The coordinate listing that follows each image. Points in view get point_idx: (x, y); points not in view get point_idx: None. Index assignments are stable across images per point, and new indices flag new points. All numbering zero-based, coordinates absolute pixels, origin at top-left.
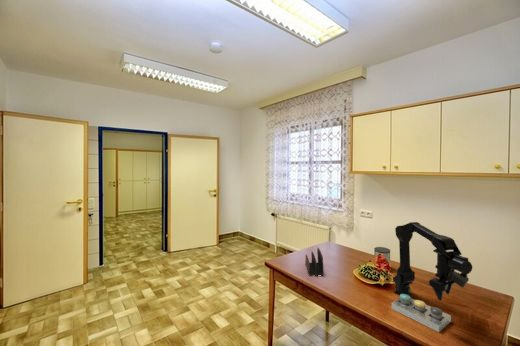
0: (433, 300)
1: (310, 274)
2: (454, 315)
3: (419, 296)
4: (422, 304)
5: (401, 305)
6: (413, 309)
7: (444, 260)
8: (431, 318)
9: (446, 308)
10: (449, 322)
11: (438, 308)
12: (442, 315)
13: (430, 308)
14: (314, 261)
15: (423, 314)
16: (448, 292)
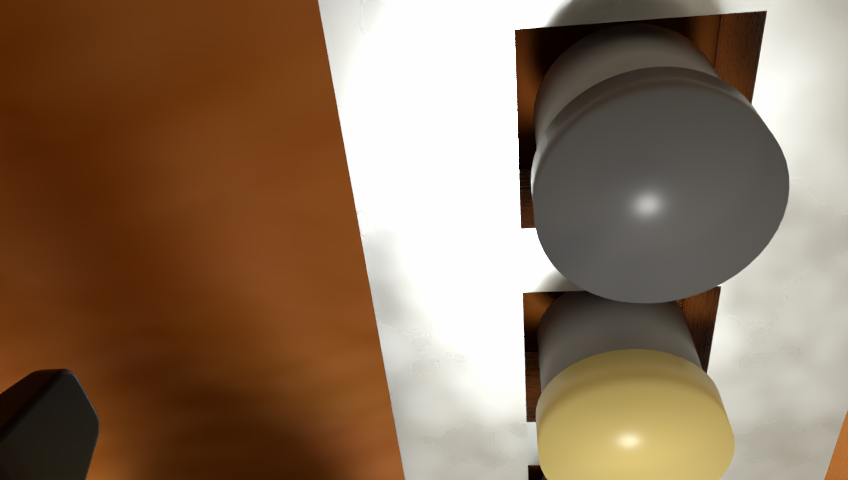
0: (28, 350)
1: None
2: (75, 19)
3: (135, 461)
4: (668, 412)
5: None
6: (723, 396)
7: None
8: (794, 143)
9: (20, 178)
10: None
11: (552, 207)
12: (481, 85)
13: (708, 288)
14: None
15: (759, 268)
16: (37, 426)
